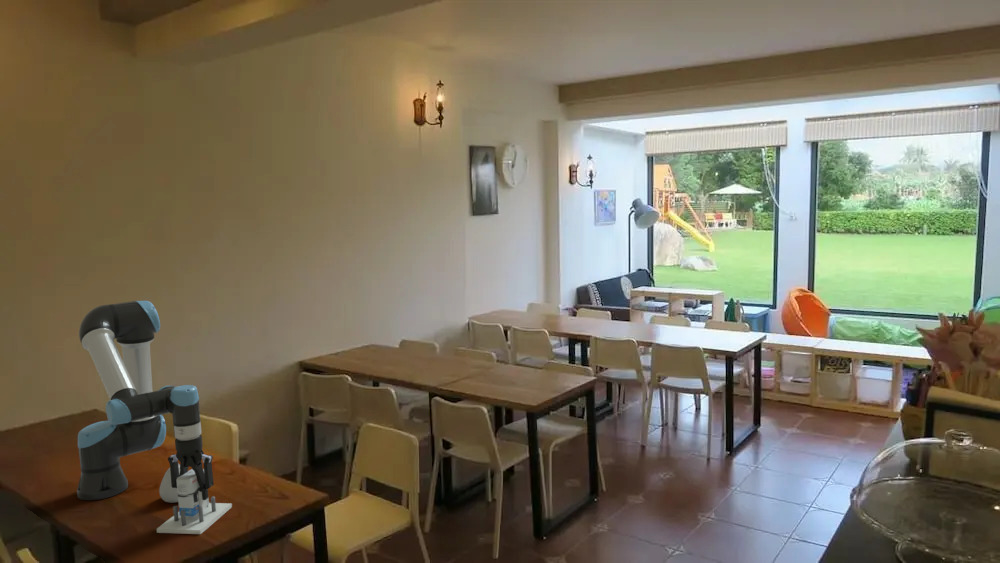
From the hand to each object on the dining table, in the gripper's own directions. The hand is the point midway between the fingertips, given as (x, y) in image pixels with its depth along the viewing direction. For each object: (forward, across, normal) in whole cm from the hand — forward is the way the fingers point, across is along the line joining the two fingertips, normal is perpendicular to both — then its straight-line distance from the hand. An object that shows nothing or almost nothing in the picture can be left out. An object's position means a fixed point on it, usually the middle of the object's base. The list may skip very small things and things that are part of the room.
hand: (194, 509), depth 214 cm
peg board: (+3, 0, 0) cm, 3 cm away
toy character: (+4, -15, +14) cm, 21 cm away
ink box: (+1, 0, 0) cm, 1 cm away
